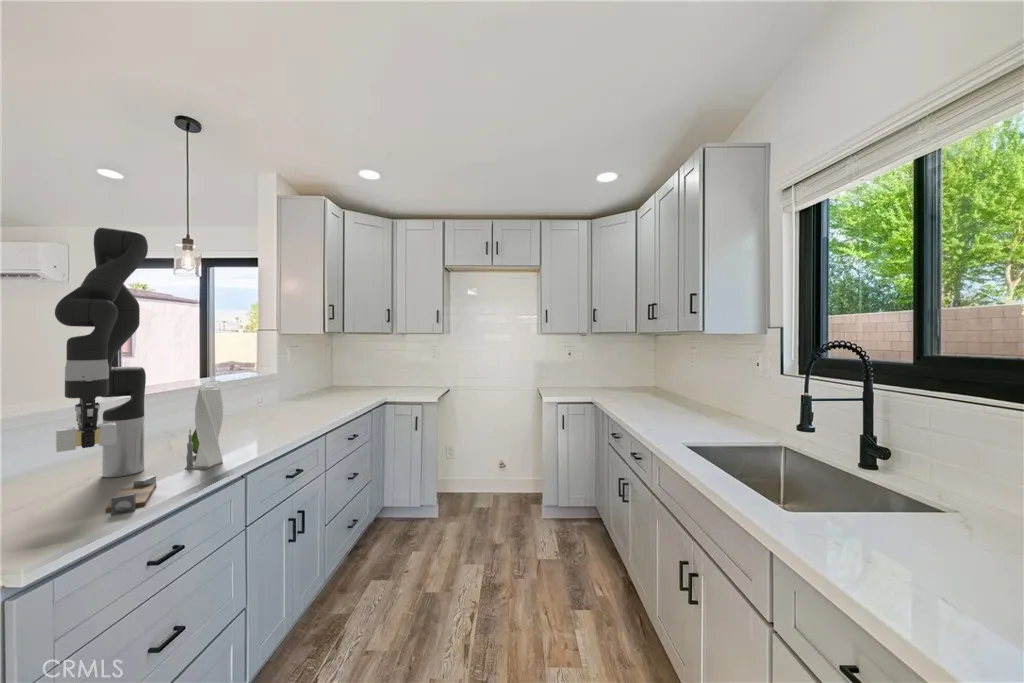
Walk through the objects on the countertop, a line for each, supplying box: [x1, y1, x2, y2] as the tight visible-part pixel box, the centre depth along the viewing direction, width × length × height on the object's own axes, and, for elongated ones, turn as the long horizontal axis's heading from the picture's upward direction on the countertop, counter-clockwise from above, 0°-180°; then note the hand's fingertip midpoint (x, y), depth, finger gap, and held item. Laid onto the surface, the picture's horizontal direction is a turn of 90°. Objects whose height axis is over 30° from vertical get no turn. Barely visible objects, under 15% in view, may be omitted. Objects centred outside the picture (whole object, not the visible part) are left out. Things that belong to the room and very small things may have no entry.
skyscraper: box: [184, 380, 224, 471], centre depth 128 cm, size 8×8×28 cm
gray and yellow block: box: [55, 422, 117, 453], centre depth 97 cm, size 4×10×5 cm, turn 142°
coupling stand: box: [105, 475, 157, 516], centre depth 102 cm, size 21×7×4 cm, turn 35°
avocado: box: [191, 428, 199, 455], centre depth 140 cm, size 8×8×12 cm
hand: (87, 445), depth 97 cm, fingers closed on gray and yellow block, 4 cm apart
